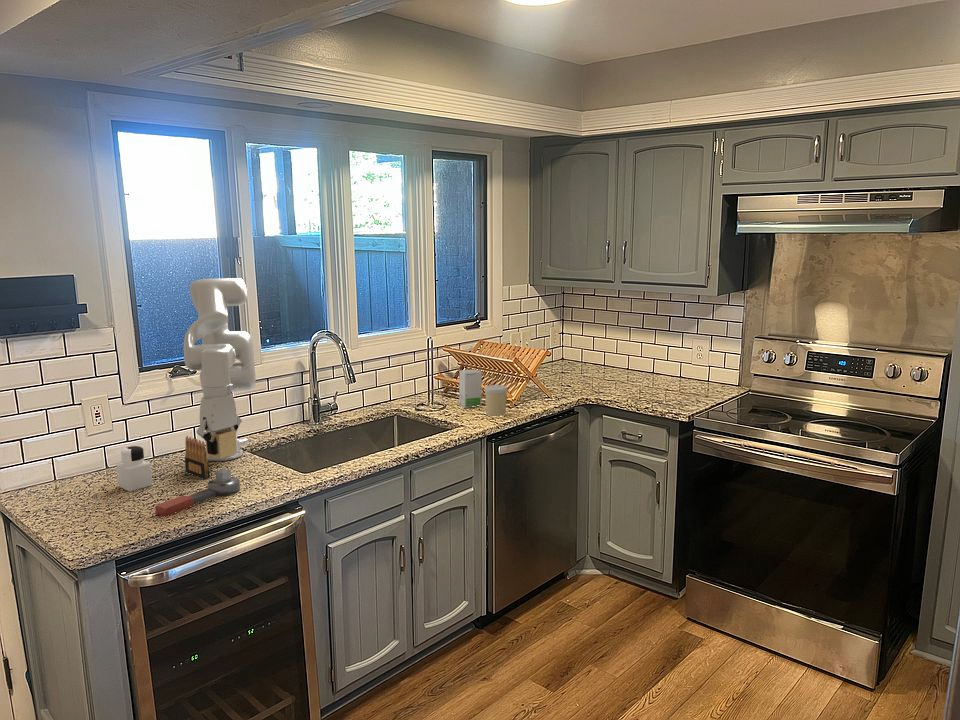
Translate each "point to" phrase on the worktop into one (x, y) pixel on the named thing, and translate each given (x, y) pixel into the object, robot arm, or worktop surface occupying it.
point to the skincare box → (470, 388)
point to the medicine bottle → (133, 469)
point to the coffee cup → (495, 399)
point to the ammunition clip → (196, 458)
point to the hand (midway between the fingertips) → (221, 450)
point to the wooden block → (224, 443)
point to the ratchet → (202, 493)
